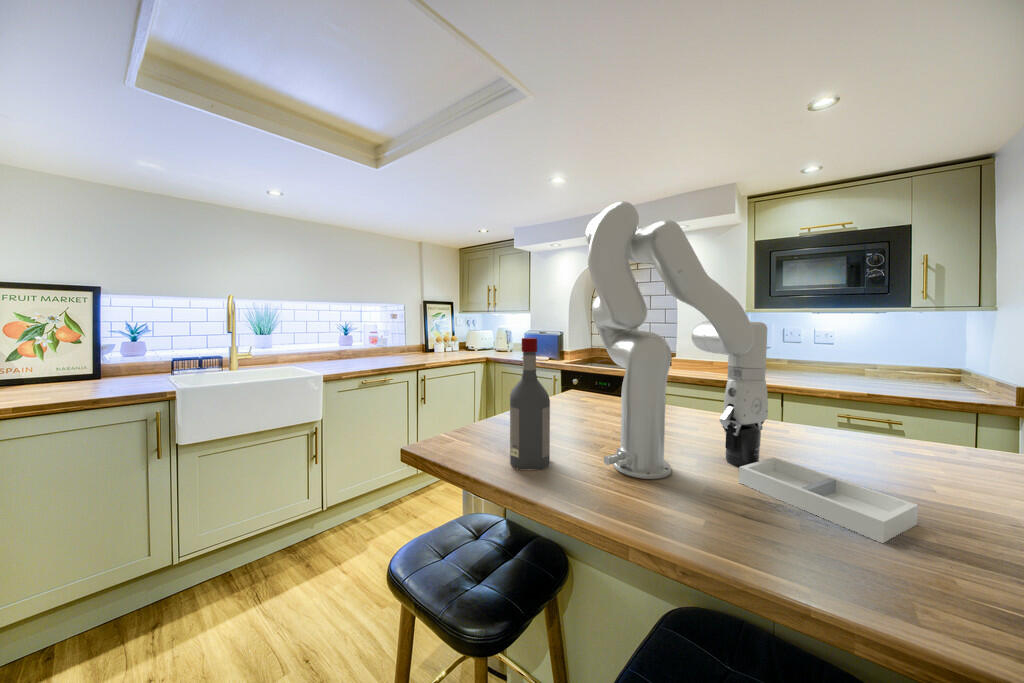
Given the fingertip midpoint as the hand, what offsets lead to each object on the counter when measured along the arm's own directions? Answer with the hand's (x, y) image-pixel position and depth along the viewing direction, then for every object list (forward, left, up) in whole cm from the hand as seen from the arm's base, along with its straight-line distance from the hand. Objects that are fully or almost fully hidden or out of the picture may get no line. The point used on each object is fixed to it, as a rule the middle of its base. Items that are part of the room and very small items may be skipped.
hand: (742, 447), depth 89 cm
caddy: (-5, -18, -4) cm, 19 cm away
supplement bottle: (0, 0, -4) cm, 4 cm away
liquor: (-46, +22, -4) cm, 51 cm away
